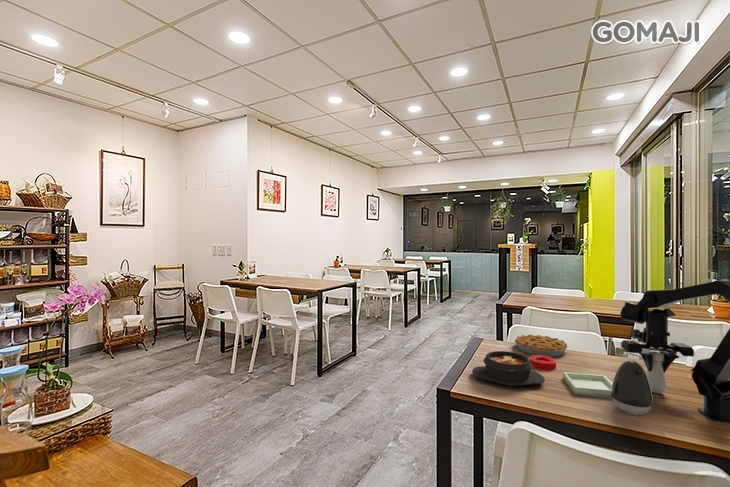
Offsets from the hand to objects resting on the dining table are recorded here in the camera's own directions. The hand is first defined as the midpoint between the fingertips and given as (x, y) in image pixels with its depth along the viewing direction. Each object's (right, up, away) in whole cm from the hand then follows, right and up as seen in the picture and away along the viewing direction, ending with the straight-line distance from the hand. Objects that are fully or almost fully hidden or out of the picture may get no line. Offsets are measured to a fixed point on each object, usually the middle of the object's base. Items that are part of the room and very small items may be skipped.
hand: (655, 373), depth 120 cm
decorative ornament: (-26, -7, +25) cm, 37 cm away
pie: (-17, -6, +45) cm, 48 cm away
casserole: (-46, -7, +11) cm, 47 cm away
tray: (-20, -7, +4) cm, 21 cm away
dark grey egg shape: (-17, -7, -12) cm, 22 cm away
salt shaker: (0, -6, 0) cm, 6 cm away
